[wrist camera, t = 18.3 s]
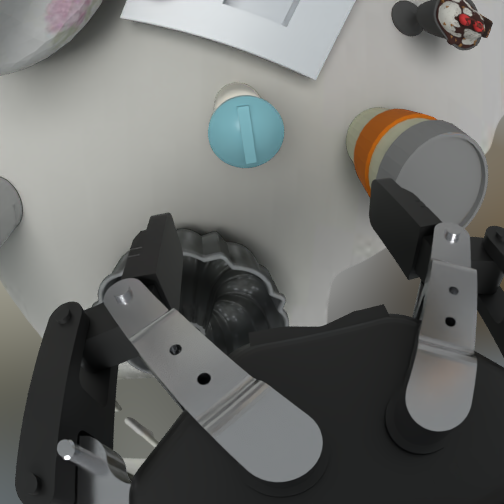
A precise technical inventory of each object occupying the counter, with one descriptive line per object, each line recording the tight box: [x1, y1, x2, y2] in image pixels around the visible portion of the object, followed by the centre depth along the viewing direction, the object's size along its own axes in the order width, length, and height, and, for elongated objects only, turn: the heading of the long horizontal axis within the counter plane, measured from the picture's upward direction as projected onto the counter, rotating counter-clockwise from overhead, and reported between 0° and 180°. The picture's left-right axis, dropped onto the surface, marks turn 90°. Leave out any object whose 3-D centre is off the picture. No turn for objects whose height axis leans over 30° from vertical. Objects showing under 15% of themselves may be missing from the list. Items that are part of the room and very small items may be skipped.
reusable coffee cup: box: [346, 108, 488, 228], centre depth 30 cm, size 13×13×15 cm
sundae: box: [392, 0, 493, 50], centre depth 20 cm, size 7×7×15 cm
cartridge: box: [208, 83, 284, 168], centre depth 27 cm, size 6×6×14 cm
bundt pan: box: [92, 229, 289, 374], centre depth 44 cm, size 26×26×10 cm
